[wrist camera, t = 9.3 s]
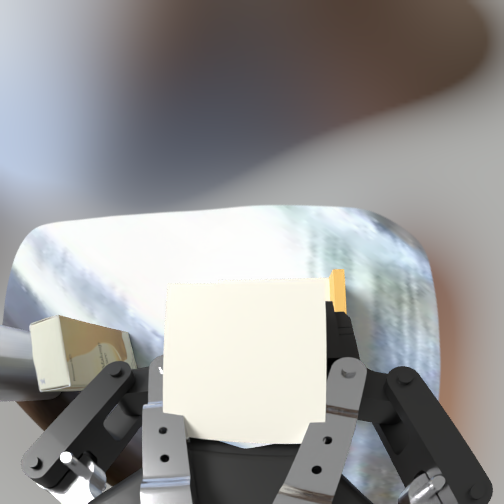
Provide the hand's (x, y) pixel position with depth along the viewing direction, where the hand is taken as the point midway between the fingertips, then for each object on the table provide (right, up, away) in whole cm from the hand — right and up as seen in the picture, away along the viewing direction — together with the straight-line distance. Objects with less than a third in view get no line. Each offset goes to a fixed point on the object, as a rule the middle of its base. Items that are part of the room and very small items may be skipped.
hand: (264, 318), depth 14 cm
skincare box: (-16, -9, +17) cm, 25 cm away
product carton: (+1, -3, +4) cm, 6 cm away
